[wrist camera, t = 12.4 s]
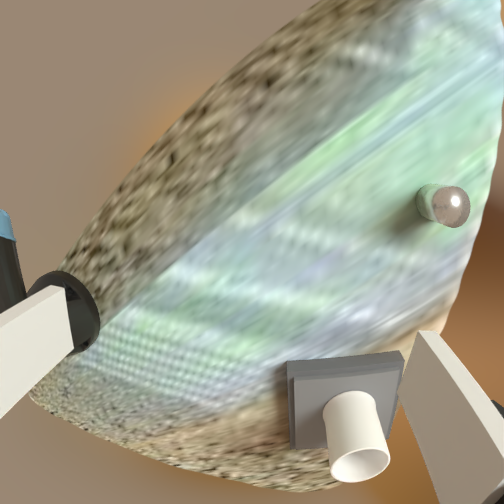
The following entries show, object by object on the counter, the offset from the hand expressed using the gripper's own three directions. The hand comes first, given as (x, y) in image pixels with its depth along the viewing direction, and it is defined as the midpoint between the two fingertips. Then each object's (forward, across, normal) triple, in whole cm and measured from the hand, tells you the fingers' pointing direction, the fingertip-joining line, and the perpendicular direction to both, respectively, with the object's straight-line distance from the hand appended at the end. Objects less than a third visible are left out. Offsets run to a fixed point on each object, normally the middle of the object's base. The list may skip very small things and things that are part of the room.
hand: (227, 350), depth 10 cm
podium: (+33, +15, -29) cm, 46 cm away
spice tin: (+33, +22, +5) cm, 40 cm away
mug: (+29, +15, -29) cm, 44 cm away
